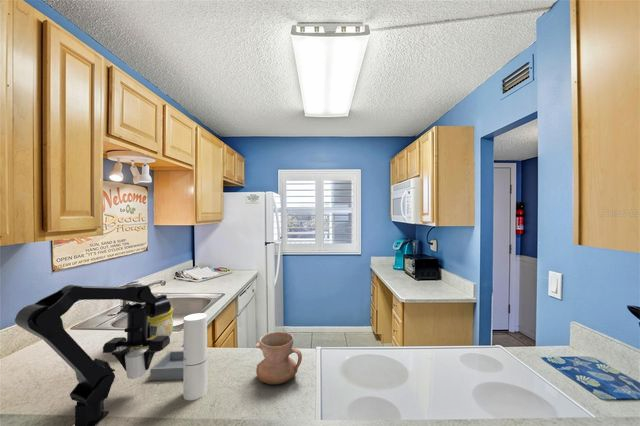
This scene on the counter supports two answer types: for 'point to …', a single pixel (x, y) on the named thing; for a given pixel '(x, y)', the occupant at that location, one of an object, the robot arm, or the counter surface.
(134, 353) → the short white cylinder
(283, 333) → the ceramic jug
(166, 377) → the tray
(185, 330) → the cylindrical container
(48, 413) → the counter surface
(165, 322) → the flowerpot
